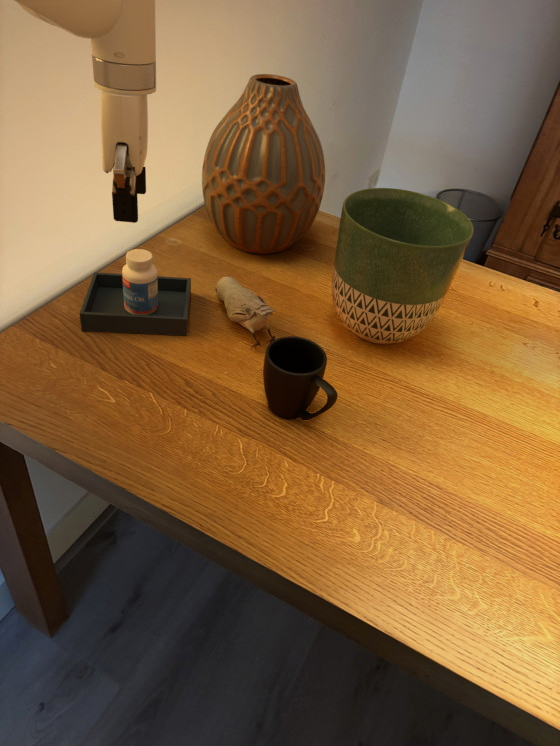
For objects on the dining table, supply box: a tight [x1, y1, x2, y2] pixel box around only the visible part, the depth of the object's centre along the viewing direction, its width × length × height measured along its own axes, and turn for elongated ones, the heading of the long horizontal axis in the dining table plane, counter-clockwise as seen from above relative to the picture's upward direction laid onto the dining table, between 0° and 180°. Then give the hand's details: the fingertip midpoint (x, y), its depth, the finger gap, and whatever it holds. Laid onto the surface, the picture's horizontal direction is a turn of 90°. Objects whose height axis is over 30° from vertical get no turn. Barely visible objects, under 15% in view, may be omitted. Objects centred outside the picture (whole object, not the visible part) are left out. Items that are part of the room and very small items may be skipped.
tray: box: [79, 271, 192, 337], centre depth 89 cm, size 16×12×3 cm
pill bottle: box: [121, 248, 158, 315], centre depth 87 cm, size 6×5×10 cm
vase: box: [201, 73, 326, 255], centre depth 105 cm, size 24×24×30 cm
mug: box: [262, 335, 338, 422], centre depth 73 cm, size 8×12×10 cm
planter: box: [331, 187, 475, 345], centre depth 87 cm, size 20×20×21 cm
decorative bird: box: [215, 275, 276, 350], centre depth 89 cm, size 5×16×8 cm, turn 33°
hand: (130, 206), depth 78 cm, fingers open, 9 cm apart
